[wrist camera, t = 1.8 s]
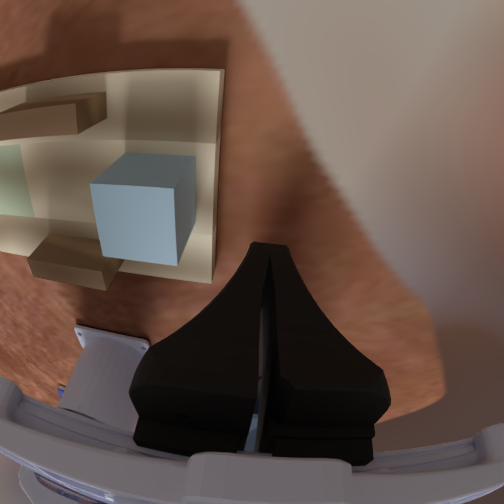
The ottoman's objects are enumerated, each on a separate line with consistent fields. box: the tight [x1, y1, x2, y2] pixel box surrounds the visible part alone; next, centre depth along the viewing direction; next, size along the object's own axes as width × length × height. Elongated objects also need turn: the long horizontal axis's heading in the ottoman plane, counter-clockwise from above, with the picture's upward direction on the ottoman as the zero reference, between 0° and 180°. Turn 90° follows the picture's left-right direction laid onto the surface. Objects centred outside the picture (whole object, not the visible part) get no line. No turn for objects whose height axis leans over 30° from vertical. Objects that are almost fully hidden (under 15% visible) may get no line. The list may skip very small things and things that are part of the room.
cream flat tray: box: [0, 68, 225, 291], centre depth 17 cm, size 13×24×4 cm, turn 85°
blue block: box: [90, 153, 196, 266], centre depth 15 cm, size 4×4×4 cm
